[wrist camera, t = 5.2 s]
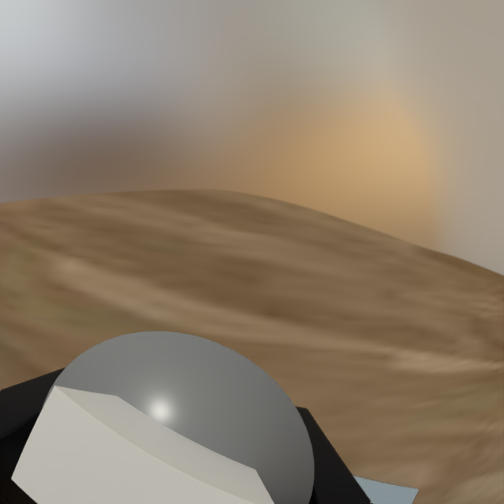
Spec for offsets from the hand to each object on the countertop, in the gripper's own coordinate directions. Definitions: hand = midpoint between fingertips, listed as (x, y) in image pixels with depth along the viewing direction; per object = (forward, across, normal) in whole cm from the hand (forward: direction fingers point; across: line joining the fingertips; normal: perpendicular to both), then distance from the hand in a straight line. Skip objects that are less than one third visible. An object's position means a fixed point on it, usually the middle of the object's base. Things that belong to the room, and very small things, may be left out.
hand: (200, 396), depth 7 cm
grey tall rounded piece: (+4, 0, +6) cm, 7 cm away
